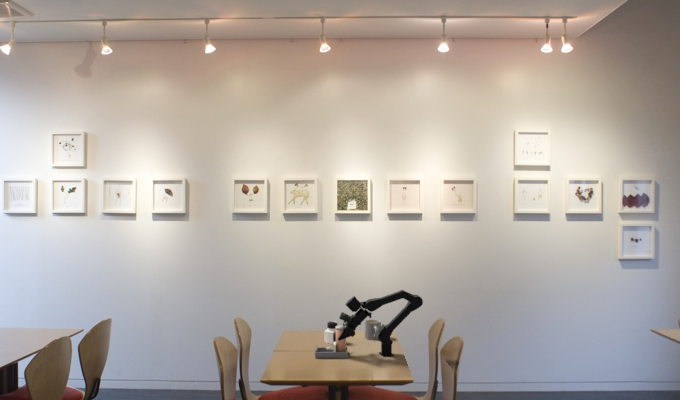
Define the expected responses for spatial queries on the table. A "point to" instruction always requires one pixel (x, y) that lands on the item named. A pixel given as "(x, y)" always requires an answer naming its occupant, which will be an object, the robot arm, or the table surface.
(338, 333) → the dome-lidded peach canister
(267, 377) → the table surface
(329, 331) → the medicine bottle
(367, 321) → the coffee mug
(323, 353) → the tray
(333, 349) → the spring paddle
